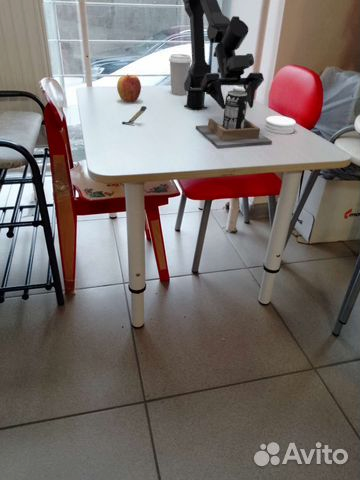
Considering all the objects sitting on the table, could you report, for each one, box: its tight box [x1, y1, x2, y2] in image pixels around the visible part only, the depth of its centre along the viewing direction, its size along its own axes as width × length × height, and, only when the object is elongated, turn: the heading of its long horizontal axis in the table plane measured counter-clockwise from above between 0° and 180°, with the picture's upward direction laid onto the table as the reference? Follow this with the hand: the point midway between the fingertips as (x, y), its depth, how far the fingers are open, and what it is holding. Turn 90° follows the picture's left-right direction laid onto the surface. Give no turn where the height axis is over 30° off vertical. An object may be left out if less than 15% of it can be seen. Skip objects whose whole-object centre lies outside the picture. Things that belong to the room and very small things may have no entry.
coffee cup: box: [168, 53, 192, 96], centre depth 151 cm, size 10×10×15 cm
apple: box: [116, 73, 142, 103], centre depth 138 cm, size 9×9×10 cm
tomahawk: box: [121, 105, 147, 127], centre depth 126 cm, size 21×7×1 cm, turn 167°
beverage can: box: [222, 90, 248, 130], centre depth 109 cm, size 7×7×12 cm
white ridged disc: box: [264, 115, 297, 135], centre depth 120 cm, size 10×10×4 cm
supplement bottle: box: [232, 85, 245, 92], centre depth 140 cm, size 5×5×10 cm
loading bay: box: [195, 118, 273, 149], centre depth 112 cm, size 18×18×4 cm
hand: (238, 107), depth 107 cm, fingers open, 9 cm apart
